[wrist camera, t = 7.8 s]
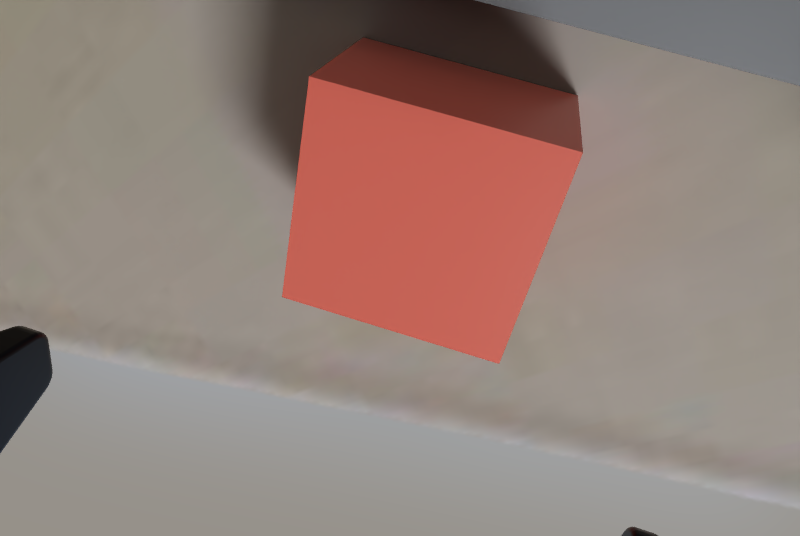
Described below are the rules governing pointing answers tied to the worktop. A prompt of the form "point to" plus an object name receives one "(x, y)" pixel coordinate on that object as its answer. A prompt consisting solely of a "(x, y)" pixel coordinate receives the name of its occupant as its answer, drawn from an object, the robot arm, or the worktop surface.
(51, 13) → the worktop surface
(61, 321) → the worktop surface
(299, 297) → the cap
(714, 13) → the panel
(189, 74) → the worktop surface
